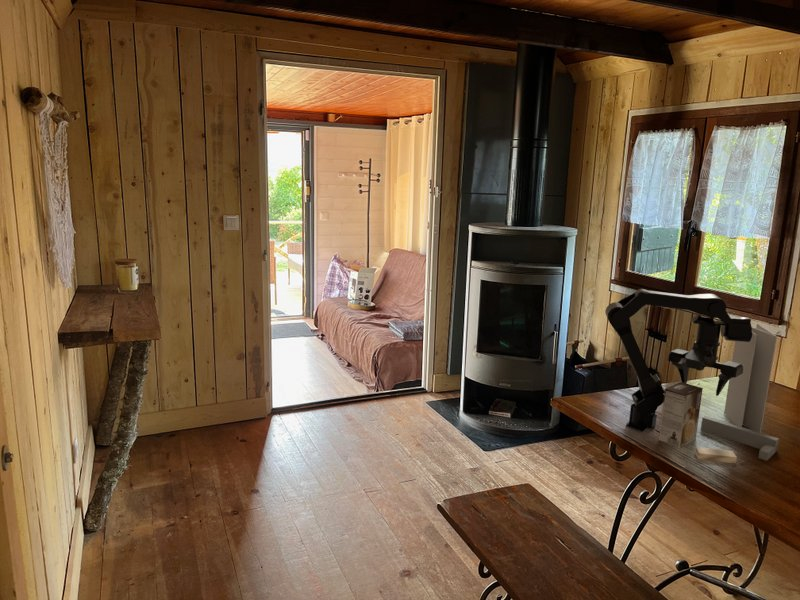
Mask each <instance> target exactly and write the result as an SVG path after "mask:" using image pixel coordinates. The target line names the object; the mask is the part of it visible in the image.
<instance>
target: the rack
mask: <svg viewBox="0 0 800 600" xmlns="http://www.w3.org/2000/svg"><path fill="white" fill-rule="evenodd" d="M701 419H702V420H701V423H700V425H701V426H700V430H701V431H704V432H706V433H710V434H713V435H716V436H719V437H722V438H725V439H728V440H731V441H734V442H737V443H740V444H743V445H747V446H749V447H752V448H755V449H759V452H758V459H760V460H763V461H766V462H767V461H768V460H769V459H771V458H772V456H774V455H775V453H777V451H778V445H779V439H780V438H779V437H775V436H771V435H769V434H767V433H763V432H761V433H759V432H756V431H753V430H751V429H749V428H747V427H743V426H742V427H740V426H737V425H734V424H732V423H731V422H727V421H723V420H720V419H717V418H713V417H710V416H707V415H704V416H703V417H702V418H701Z"/></svg>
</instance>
